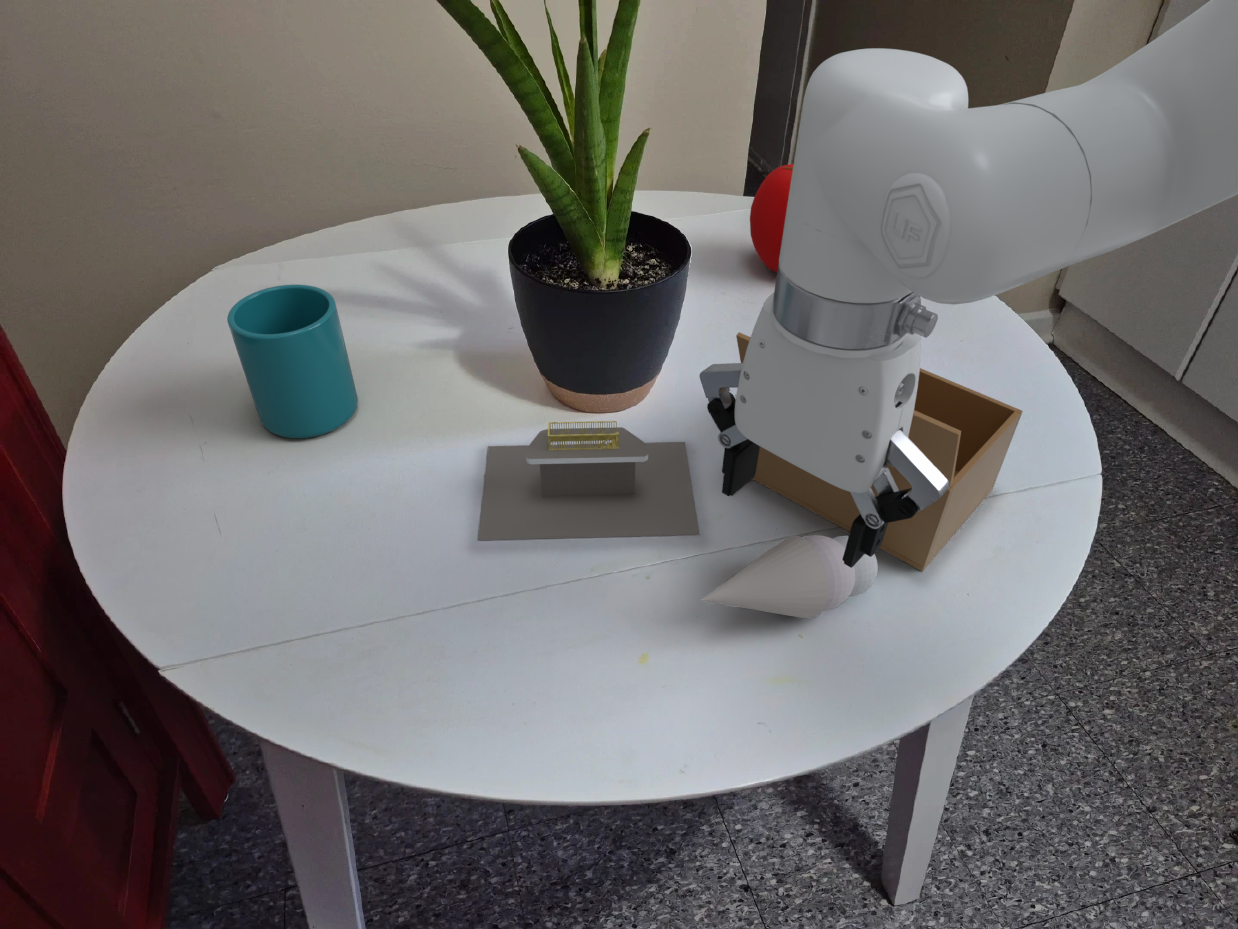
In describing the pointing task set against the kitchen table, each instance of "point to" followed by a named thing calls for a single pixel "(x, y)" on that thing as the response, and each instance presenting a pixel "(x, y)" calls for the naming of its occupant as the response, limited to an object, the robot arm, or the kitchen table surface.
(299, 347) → the cup
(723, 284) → the kitchen table surface
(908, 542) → the carton
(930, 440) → the flap
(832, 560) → the ice cream cone
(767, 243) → the tomato
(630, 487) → the platform
